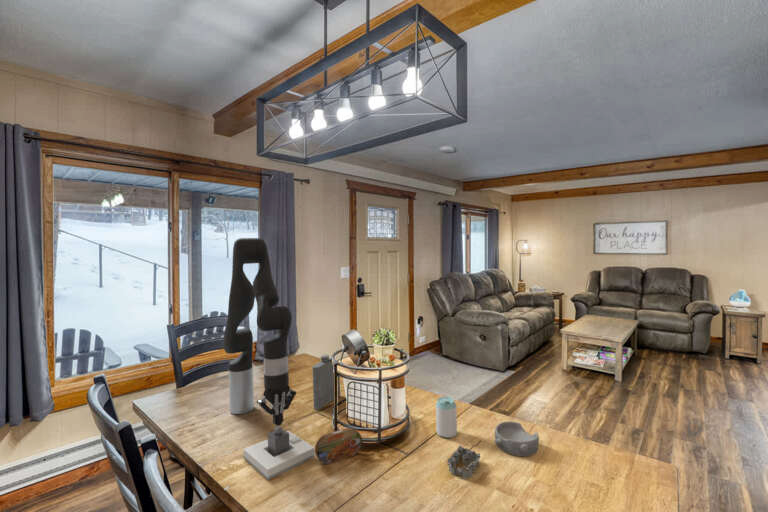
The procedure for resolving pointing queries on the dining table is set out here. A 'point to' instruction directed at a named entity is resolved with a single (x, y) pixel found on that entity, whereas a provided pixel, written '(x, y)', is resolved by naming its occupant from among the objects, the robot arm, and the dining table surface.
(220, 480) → the dining table surface
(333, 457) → the tin
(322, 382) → the hip flask
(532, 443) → the dish
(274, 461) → the socket
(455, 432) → the can
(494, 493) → the dining table surface
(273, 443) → the plug
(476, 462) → the grey jagged ring
